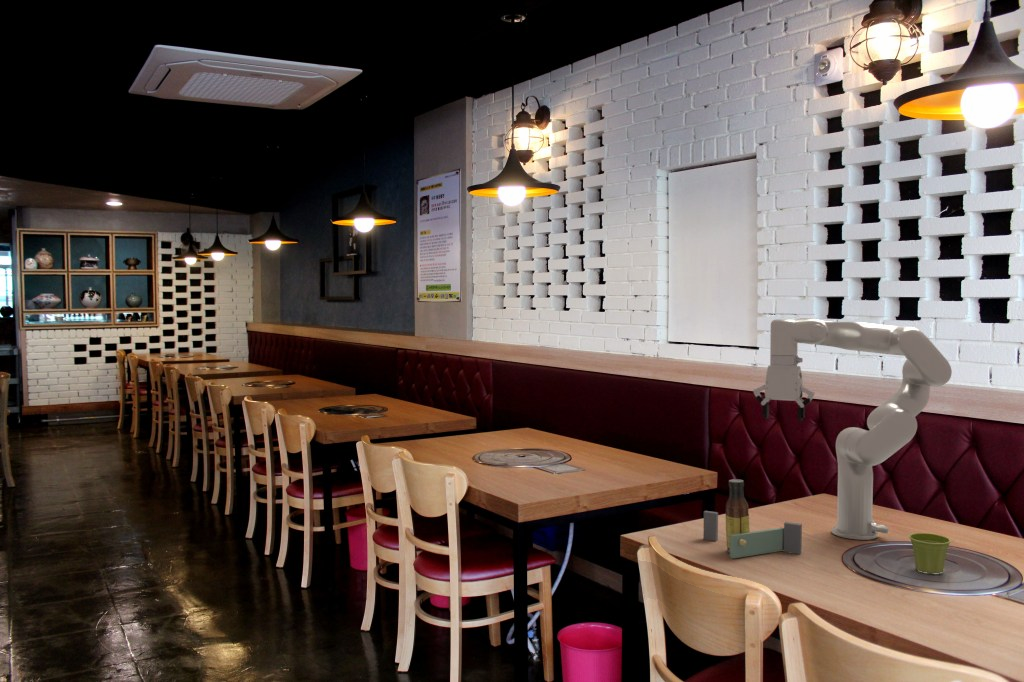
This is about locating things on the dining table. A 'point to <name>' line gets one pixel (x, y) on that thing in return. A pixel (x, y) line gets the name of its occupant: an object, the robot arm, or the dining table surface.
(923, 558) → the plant pot
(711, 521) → the partition wall
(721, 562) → the dining table surface
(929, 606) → the dining table surface
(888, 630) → the dining table surface
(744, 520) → the sauce bottle
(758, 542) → the door
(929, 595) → the dining table surface
